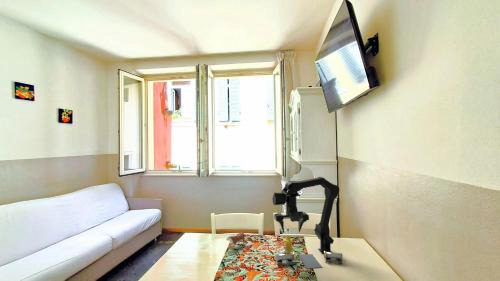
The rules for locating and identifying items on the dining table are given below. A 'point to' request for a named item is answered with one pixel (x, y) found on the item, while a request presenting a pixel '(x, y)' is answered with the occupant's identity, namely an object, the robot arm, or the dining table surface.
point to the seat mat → (310, 261)
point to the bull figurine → (236, 238)
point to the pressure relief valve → (287, 245)
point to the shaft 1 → (285, 258)
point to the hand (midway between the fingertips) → (291, 232)
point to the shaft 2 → (333, 257)
